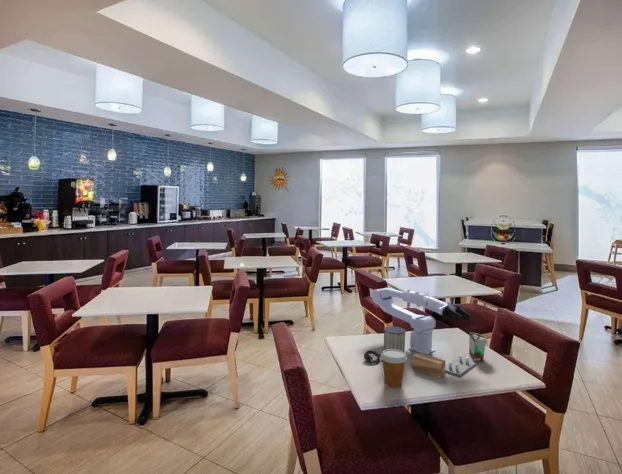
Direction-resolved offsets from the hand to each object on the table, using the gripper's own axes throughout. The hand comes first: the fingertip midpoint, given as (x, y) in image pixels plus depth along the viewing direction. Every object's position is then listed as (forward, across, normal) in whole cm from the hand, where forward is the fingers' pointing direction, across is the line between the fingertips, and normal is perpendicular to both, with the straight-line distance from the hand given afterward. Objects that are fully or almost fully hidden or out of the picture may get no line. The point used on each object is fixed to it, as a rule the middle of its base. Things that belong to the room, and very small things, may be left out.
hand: (465, 318), depth 164 cm
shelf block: (-1, -14, +24) cm, 28 cm away
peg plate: (+4, -1, +20) cm, 21 cm away
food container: (+3, +15, +18) cm, 24 cm away
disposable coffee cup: (-2, -35, +27) cm, 44 cm away
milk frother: (-18, -22, +27) cm, 39 cm away
